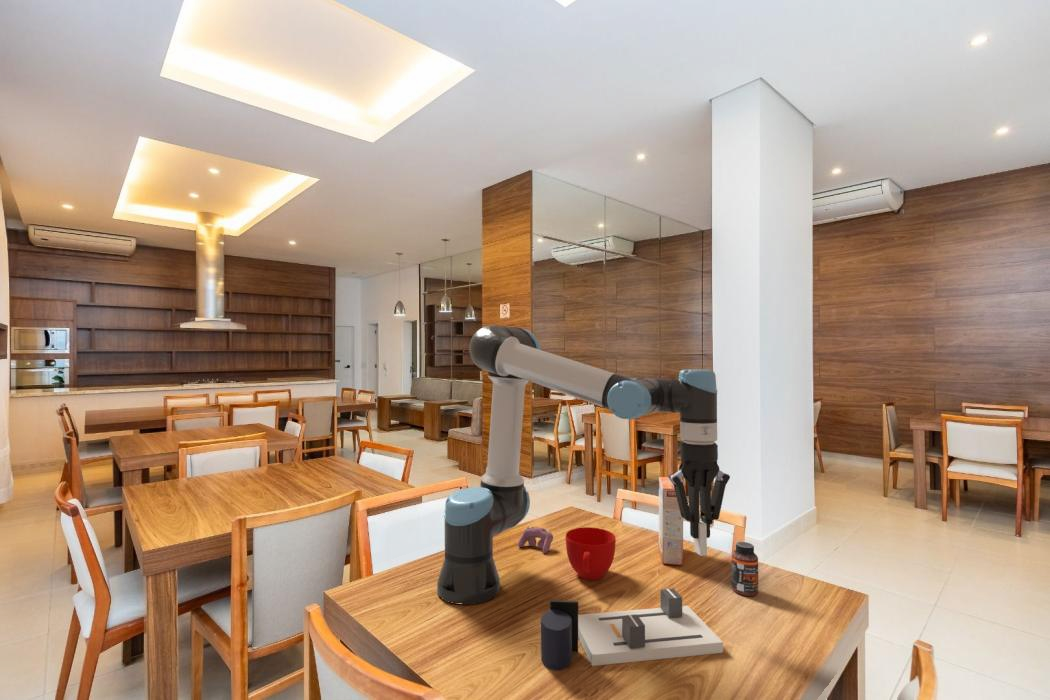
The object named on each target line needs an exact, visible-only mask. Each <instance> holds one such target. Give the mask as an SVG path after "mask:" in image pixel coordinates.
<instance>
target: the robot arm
mask: <svg viewBox="0 0 1050 700" xmlns="http://www.w3.org/2000/svg"><path fill="white" fill-rule="evenodd" d="M468 353H469V355H470V358H471V360H472V362H473V364H475V366H477V368H478V369H481V370H483V371H486V372H487V378H488V379H490V381H491V382H492V393H491V408H490V409H491V411H490V425H489V439H488V449H487V451H488V453H487V465H486V466H487V467H486V472H484V474H482V476H480V486H469V487H468V488H467V487H466V488H461V489H457V490H455V491H454V492H452V493H450V494H449V495H448V497H447V498H446V500H445V504H444V505H445V507H444V512H443V518H444V560H443V563H442V566H441V569H440V573H439V575H438V579H437V582H436V583H437V584H436V585H437V587H436V593H438V594H437V596H438V595H439V596H440V597H441V598H443V599H444V600H446V601H449V602H453V603H462V604H470V605H475V604H474V603H478V604H482V603H485V602H487V601H489V600H492V599H493V598H495V597H497V596H498V594H499V592H500V589H501V580H500V579H501V578H500V575H499V572H498V569H497V565H496V563H495V560H494V553H493V552H494V550H493V549H494V547H493V546H494V545H493V544H494V540H493V539H494V538H495V537H496V536H498V535H500V534H502V533H503V532H505V531H506V530H509V529H512V528H514V527H516V526H517V525H518V524H520V523H521V521H523V520H525V518H526V516H527V514H528V512H529V511H530V503H531V497H530V494H529V491H527V488H526V486H525V479H524V478H523V477H522V475H521V474H520V465H521V464H520V463H521V462H520V461H521V449H522V433H523V420H524V407H525V406H524V404H525V393H526V391H525V390H526V385H527V384H529V382H531V383H533V384H537V385H539V386H542V387H544V388H548V389H550V390H554V391H556V392H559V393H562V394H564V395H568V396H570V397H573V398H577V399H578V400H582V401H585V402H587V403H590V404H592V405H595V406H599V407H600V408H601V407H602V408H604V409H607V410H608V411H609V410H610V412H611V413H612V414H613V415H614V416H616V417H617V418H620V419H623V420H636V419H639V418H641V417H643V416H645V415H649V414H652V413H672V414H674V413H675V414H677V413H678V414H679V416H680V417H679V427H680V428H679V433H680V434H679V435H680V436H679V437H680V439H681V441H680V443H679V444H680V447H679V448H680V465H679V467H678V471H676V472H675V473H674V474H673V473H670V474H669V475H668V477H669V479H670V480H671V482H672V483H673V485H674V489H675V493H676V497H677V501H678V505H679V509H680V513H681V517H682V518H683V520H685V521H687V522H689V526H690V527H689V529H690V531H689V534H690V537H692V538H693V549H694V552H695V553H696V554H697V555H699V556H701V557H702V556H707V555H708V542H707V539H709V538H710V537H711V525H713V523H714V521H718V520H719V518H720V516H721V514H720V513H721V509H722V504H723V500H724V495H725V490H726V486H727V484H728V482H729V480H730V477H731V476H730V474H727V473H725V472H723V471H722V470H720V466H719V464H718V459H719V451H718V447H719V445H718V444H717V443H716V441H718V390H717V377H716V372H714V371H713V370H711V369H681V370H680V371H679V375H678V377H677V378H676V377H675V378H658V377H657V378H656V377H634V378H631V377H627V376H623V375H621V374H617V373H614V372H610V371H607V370H604V369H602V368H599V367H596V366H592V365H589V364H586V363H583V362H580V361H576V360H573V359H570V358H568V357H564V356H561V355H559V354H558V355H557V354H554V353H551V352H547V351H544V350H541V345H540V341H539V340H538V338H537V337H536V335H534V333H533V332H531V331H530V330H528V329H526V328H522V327H518V326H506V325H497V324H491V325H486V326H483V327H481V328H479V329H478V330H477V331H475V333H473V335H472V337H471V339H470V341H469V351H468ZM683 478H684V479H683ZM684 480H685V481H686V482H687V484H686V485H687V489H688V497H687V494H686V493H687V492H686V490H685V486H684V484H683V482H684ZM712 486H713V487H712ZM711 491H712V492H711ZM687 498H688V499H687ZM439 596H438V597H439ZM440 597H439V598H440ZM441 598H440V599H441ZM443 599H442V600H443ZM444 600H443V601H444ZM446 601H445V602H446ZM449 602H448V603H449ZM481 602H482V603H481ZM453 603H452V604H453Z"/></svg>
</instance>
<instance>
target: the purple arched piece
mask: <svg viewBox="0 0 1050 700" xmlns="http://www.w3.org/2000/svg"><path fill="white" fill-rule="evenodd" d="M536 538H537V539H539V540H538V541H537V539H536ZM553 541H554V535H553V534H552V532H551V531H549V530H548V529H545V528H543V527H539V526H532V527H531V526H528V527H526V528H525V529H524V531H523V532H522V534H521V536H520V538H519V540H518V543H517V547H518V548H519V547H521V548H523V547H524V546H525V544H526V543H527V542H528V545H529V547H532V546H534V547H535V546H536V545H537V547H538V548H539V549H540V548H541V549H542V553H543V554H547V553H548V551H549V550H550V548H551V545H552V543H553ZM522 546H523V547H522Z"/></svg>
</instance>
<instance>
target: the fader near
mask: <svg viewBox="0 0 1050 700" xmlns="http://www.w3.org/2000/svg"><path fill="white" fill-rule="evenodd" d="M622 637H623V638H624V640H625V642H626V643H627V645H628V646H629V648H640V647H645V625H644V623H643V622H642V621H641V619H640V618H639V617H638V615H637V614H636V615H624V616H622Z"/></svg>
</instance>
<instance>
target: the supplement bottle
mask: <svg viewBox="0 0 1050 700" xmlns="http://www.w3.org/2000/svg"><path fill="white" fill-rule="evenodd" d="M730 569H731V574H730V575H731V582H730V583H731V589H732V591H733V592H735V593H736V594H739V595H740V596H744V597H745V596H746V597H754V596H756V595H757V594H758V593H759V557H758V555H757V554H756V553H755V546H754V544H752V543H750V542H747V541H737V542H736V543H735V549H734V550H733V551H732V552H731V567H730Z"/></svg>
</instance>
